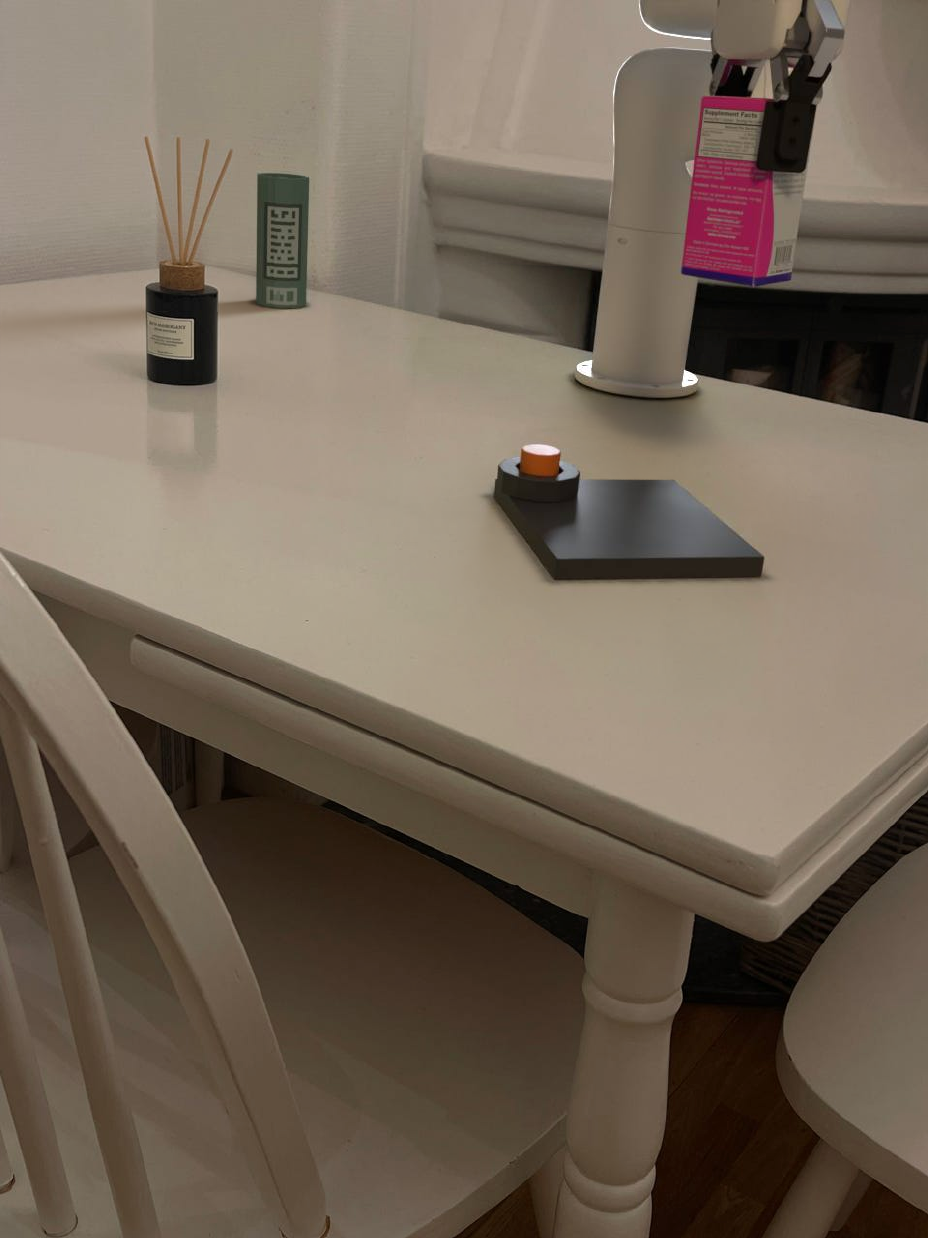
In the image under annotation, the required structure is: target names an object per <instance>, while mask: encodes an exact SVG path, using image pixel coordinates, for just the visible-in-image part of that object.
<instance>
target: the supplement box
mask: <svg viewBox="0 0 928 1238" xmlns="http://www.w3.org/2000/svg"><path fill="white" fill-rule="evenodd" d="M766 101H769V102H775V101H774V99H768V98H751V97H731V96H703V97H702V99H701V109H700V118H699V126H698V135H697V143H696V151H695V159H694V160H693V169H692V184H691V193H690V202H689V210H688V218H687V227H686V235H685V243H684V252H683V260H682V268H681V273H682V274H683V275H687V276H693V277H698V279H705V280H711V281H717V282H722V283H728V284H734V285H740V286H744V287H748V288H749V287H751V288H756V287H762V286H766V285H773V284H777V283H785V282H790V281H791V280H792V273H793V268H794V259H795V252H796V247H797V246H796V245H797V238H798V233H799V227H800V218H801V214H802V206H803V200H804V195H805V187H806V180H807V175H808V169H809V161H810V153H811V147H812V140H813V134H814V127H815V120H816V117H815V118H814V124H813V129H812V135H811V141H810V147H809V153H808V158H807V164H806V169H805V170H804V171H803V172H802V173H788V172H774V171H762V170H759V169H758V168H757V167H756V161H757V154H758V148H759V142H760V135H761V129H762V123H763V116H764V110H765V104H766ZM817 108H818V105H817V106H816V110H817ZM816 115H817V111H816V112H815V116H816Z"/></svg>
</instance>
